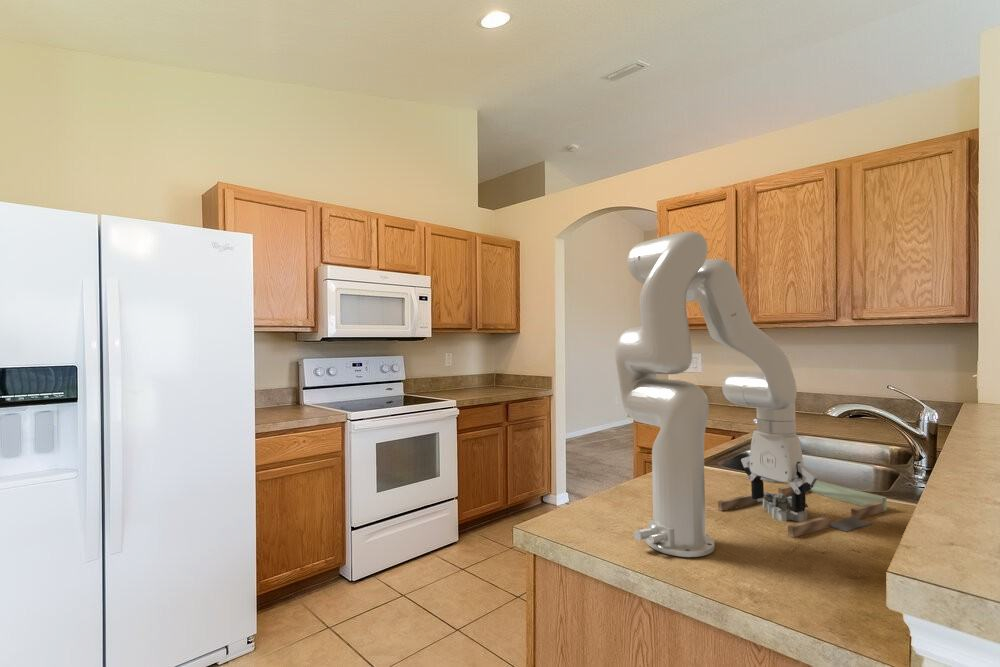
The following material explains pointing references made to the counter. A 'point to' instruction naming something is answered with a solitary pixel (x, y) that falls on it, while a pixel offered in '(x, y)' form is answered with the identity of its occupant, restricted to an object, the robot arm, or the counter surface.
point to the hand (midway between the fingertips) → (777, 504)
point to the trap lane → (867, 503)
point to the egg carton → (782, 508)
